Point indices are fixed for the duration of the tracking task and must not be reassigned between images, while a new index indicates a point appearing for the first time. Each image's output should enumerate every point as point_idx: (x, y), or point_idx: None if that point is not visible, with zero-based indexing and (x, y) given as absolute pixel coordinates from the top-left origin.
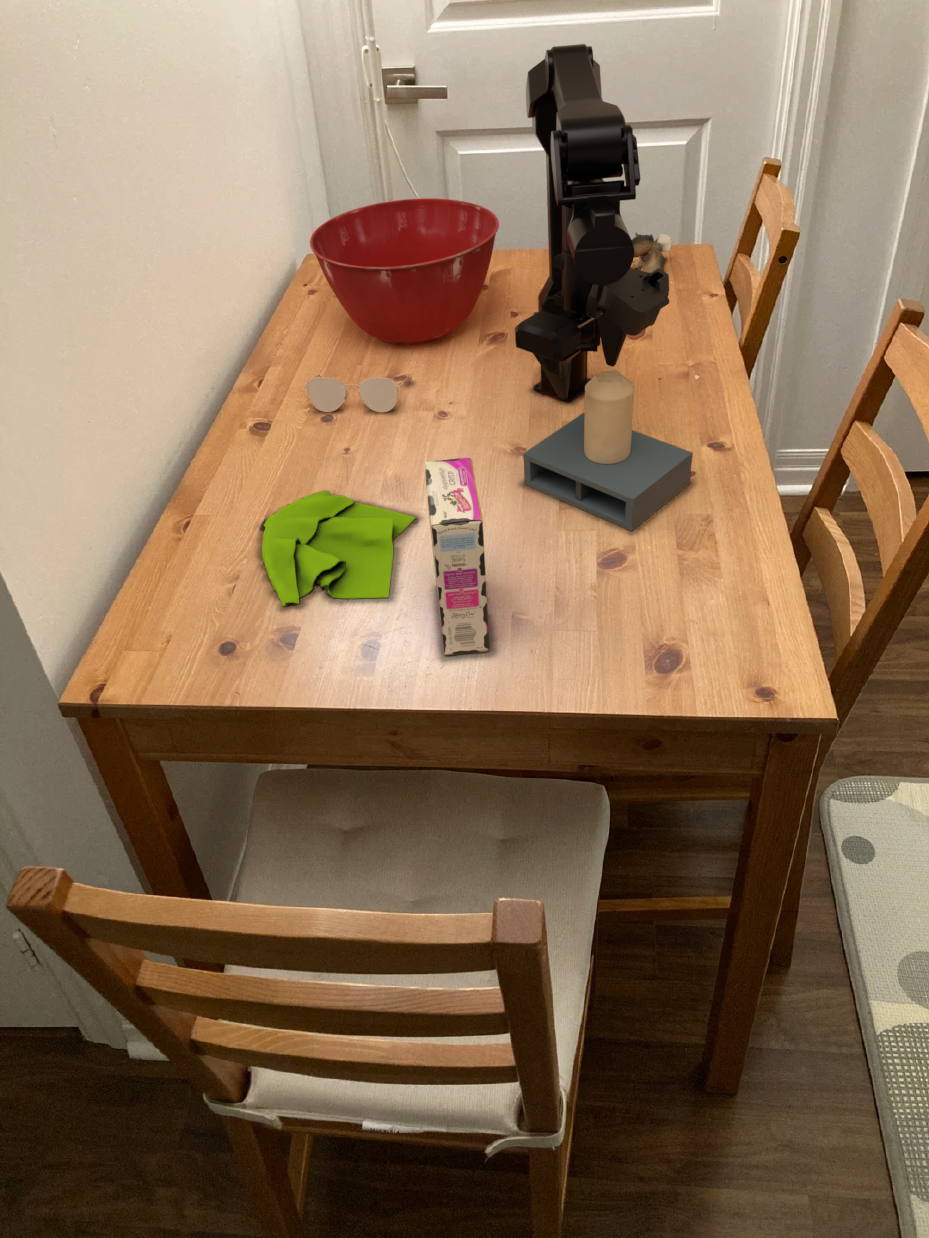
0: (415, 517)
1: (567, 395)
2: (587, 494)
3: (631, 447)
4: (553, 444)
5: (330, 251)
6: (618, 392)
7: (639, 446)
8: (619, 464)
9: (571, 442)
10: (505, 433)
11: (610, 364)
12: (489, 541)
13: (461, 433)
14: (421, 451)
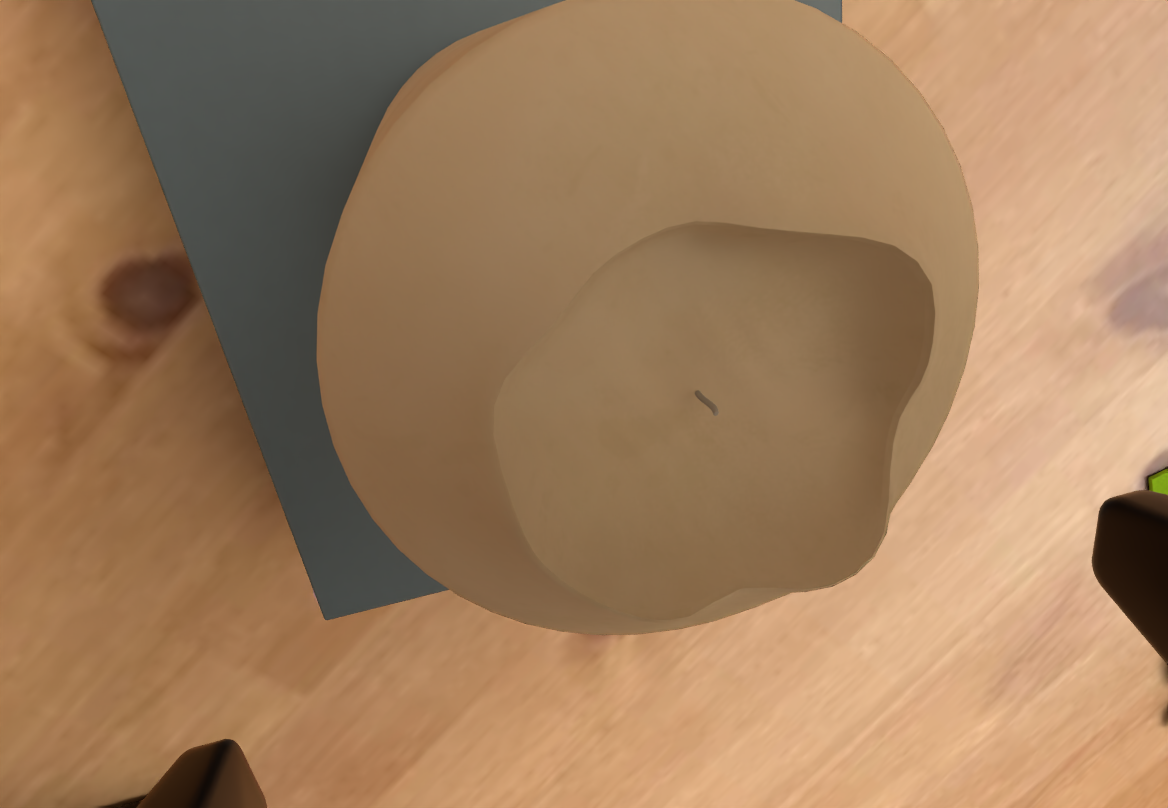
0: (1152, 479)
1: (1140, 504)
2: None
3: (360, 122)
4: None
5: None
6: (819, 79)
7: (301, 91)
8: None
9: None
10: (554, 732)
11: (246, 783)
12: (1139, 187)
13: (671, 801)
14: (839, 774)
